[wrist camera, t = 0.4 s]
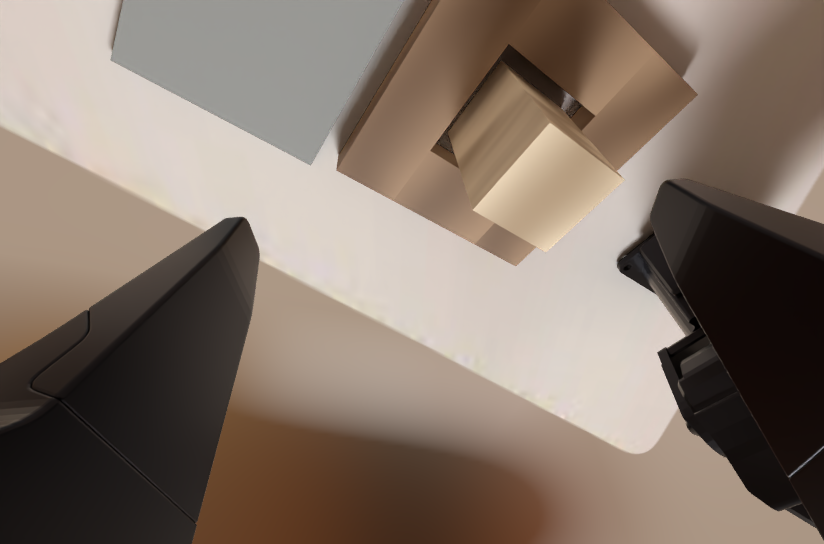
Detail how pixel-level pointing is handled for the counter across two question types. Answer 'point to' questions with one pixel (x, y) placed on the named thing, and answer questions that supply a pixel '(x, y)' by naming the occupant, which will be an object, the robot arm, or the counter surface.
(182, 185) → the counter surface
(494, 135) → the block
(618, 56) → the pocket board
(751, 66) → the counter surface
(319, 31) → the mat
